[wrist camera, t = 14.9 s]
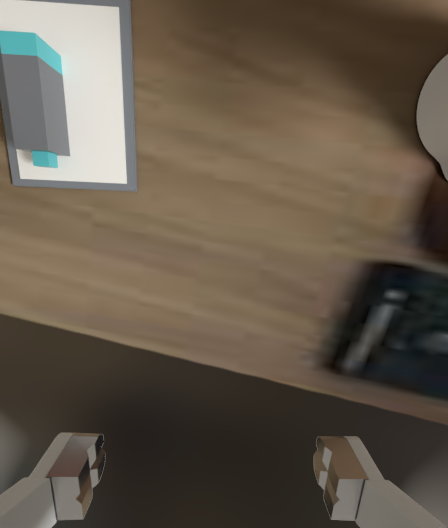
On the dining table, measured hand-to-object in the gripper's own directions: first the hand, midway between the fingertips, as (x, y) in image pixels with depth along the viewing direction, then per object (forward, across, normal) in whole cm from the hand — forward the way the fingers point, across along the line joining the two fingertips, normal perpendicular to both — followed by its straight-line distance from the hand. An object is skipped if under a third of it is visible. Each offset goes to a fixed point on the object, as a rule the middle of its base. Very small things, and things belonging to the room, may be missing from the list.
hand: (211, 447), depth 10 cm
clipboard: (+29, +19, -21) cm, 41 cm away
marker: (+28, +21, -18) cm, 39 cm away
